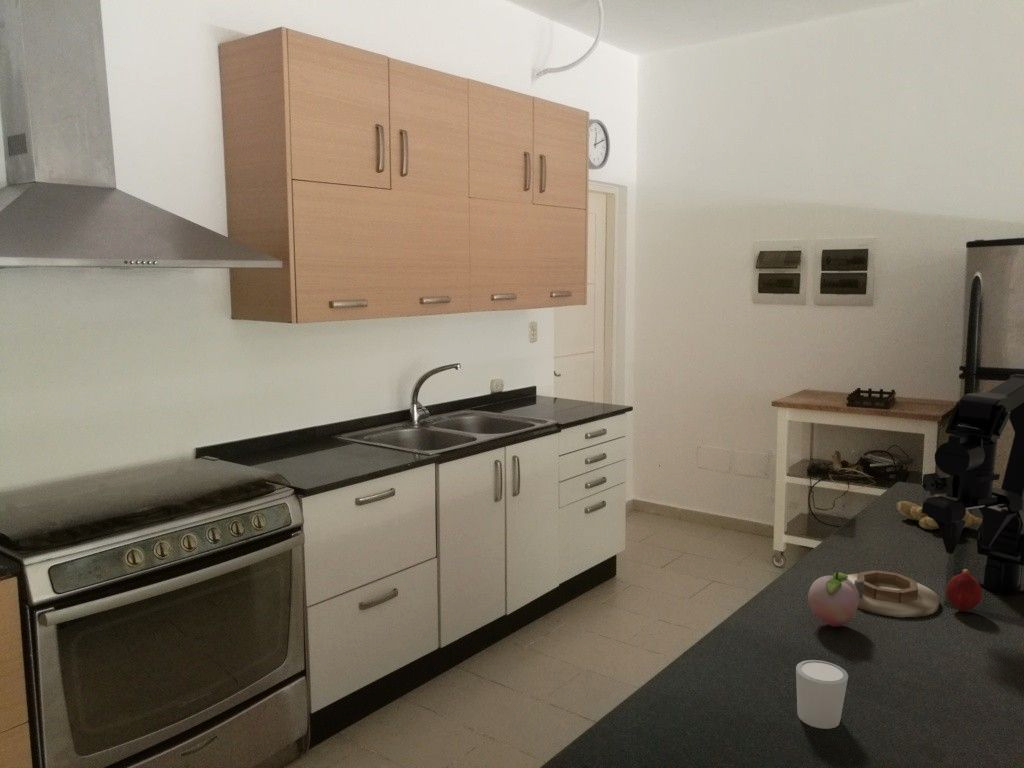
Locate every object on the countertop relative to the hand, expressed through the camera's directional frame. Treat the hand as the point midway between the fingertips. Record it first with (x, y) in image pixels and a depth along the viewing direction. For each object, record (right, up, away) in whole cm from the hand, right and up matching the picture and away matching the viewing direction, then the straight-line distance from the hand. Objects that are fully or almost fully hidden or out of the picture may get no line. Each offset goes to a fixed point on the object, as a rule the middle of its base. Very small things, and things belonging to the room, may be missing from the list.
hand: (968, 549), depth 150 cm
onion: (0, -12, +2) cm, 12 cm away
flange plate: (-11, -11, +8) cm, 17 cm away
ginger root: (+21, -5, +50) cm, 54 cm away
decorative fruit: (-27, -13, -5) cm, 30 cm away
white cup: (-39, -17, -34) cm, 55 cm away
